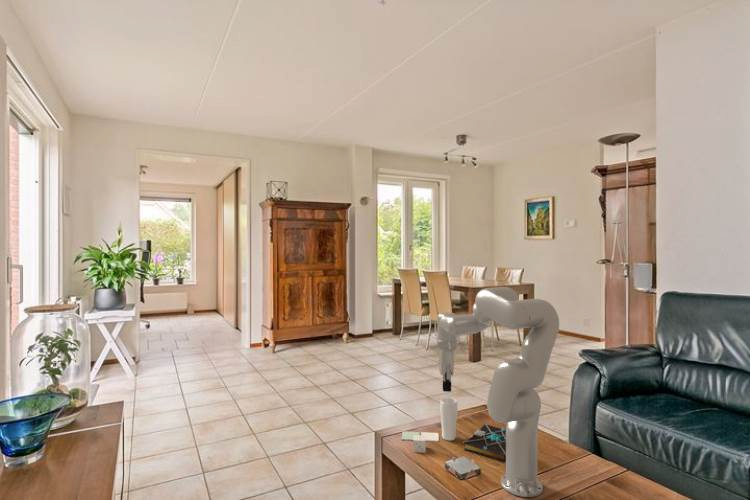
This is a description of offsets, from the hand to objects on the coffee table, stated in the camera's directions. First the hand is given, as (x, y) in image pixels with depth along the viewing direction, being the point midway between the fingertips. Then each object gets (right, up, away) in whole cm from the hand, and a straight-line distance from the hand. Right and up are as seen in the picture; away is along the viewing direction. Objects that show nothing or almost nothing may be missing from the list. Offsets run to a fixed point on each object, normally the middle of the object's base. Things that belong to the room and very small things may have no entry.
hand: (446, 390), depth 169 cm
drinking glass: (+1, -19, +1) cm, 20 cm away
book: (+17, -20, -5) cm, 27 cm away
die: (-12, -20, -8) cm, 24 cm away
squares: (-10, -19, +2) cm, 22 cm away
